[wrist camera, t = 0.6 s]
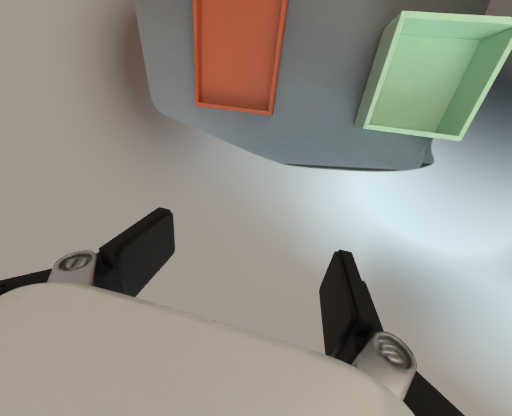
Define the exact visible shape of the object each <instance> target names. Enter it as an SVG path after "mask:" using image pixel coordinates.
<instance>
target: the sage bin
mask: <svg viewBox="0 0 512 416" xmlns="http://www.w3.org/2000/svg"><path fill="white" fill-rule="evenodd" d="M511 49H512V17H502V16H485V15H468V14H451V13H434V12H417V11H401V12H400V13H399V14H398V15H397V16H396V17H395V18H394V19H393V20H392V21H391V22H390V23H389V24H388V25H387V26H386V27H385V28H384V29H383V33H382V36H381V39H380V42H379V45H378V49H377V52H376V55H375V58H374V62H373V65H372V68H371V71H370V74H369V78H368V81H367V84H366V87H365V91H364V94H363V97H362V100H361V104H360V107H359V110H358V113H357V116H356V120H355V123H354V126H356V127H360V128H363V129H371V130H378V131H386V132H394V133H401V134H409V135H416V136H424V137H431V138H439V139H447V140H454V141H461V140H462V138H463V136H464V134H465V132H466V131H467V129H468V127H469V125H470V123H471V122H472V120H473V118H474V116H475V114H476V113H477V111H478V109H479V107H480V105H481V104H482V102H483V100H484V98H485V96H486V95H487V93H488V91H489V89H490V87H491V85H492V84H493V82H494V80H495V78H496V76H497V75H498V73H499V71H500V69H501V67H502V66H503V64H504V62H505V60H506V58H507V57H508V55H509V53H510V51H511Z"/></svg>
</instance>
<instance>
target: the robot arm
mask: <svg viewBox="0 0 512 416" xmlns="http://www.w3.org/2000/svg"><path fill="white" fill-rule="evenodd" d="M174 243H175V242H174V225H173V214H172V213H171V211H170V210H169V209H164V208H157V209H156V210H154V211H153V212H151V213H150V214H148V215H147V216H146V217H144V218H143V219H141V220H140V221H138V222H137V223H136V224H134V225H133V226H131V227H130V228H128V229H127V230H125V231H124V232H122V233H121V234H119V235H118V236H116V237H115V238H113V239H112V240H111V241H109V242H108V243H106V244H105V245H103V246H102V247H100V248H99V251H100V252H98V253H97V254H95V253H94V252H92V251H86V250H84V251H78V252H73V253H71V254H67V255H65V256H64V257H62V258H60V259H59V260H58V261H57V262H56V263H55V264H54V266H53V269H48V270H45V271H40V272H36V273H31V274H27V275H23V276H18V277H14V278H9V279H5V280H0V416H464V415H463V414H462V413H461V412H460V411H459V410H458V409H457V408H456V407H455V406H454V405H453V404H451V403H450V402H449V401H448V400H447V399H446V398H445V397H444V396H443V395H442V394H441V393H440V392H439V391H437V390H436V389H435V388H434V387H433V386H432V385H431V384H430V383H429V382H428V381H427V380H426V379H425V378H423V377H422V376H421V375H420V374H419V373H418V372H417V371H416V368H417V363H416V359H415V357H414V355H413V353H412V352H411V350H410V349H409V348H408V346H407V345H406V344H405V343H404V342H402V340H400V339H399V338H397V337H396V336H394V335H393V334H390V333H388V332H384V331H383V328H382V325H381V323H380V320H379V317H378V315H377V312H376V309H375V307H374V304H373V302H372V299H371V296H370V293H369V291H368V288H367V285H366V283H365V282H364V281H362V280H361V278H360V275H359V272H358V269H357V266H356V264H355V261H354V258H353V255H352V253H351V252H348V251H343V250H339V251H338V252H335V253H334V254H333V257H332V260H331V262H330V264H329V267H328V269H327V271H326V274H325V276H324V279H323V281H322V283H321V286H320V290H319V294H320V304H321V314H322V324H323V334H324V344H325V353H326V354H325V355H324V354H321V353H319V352H316V351H312V350H309V349H306V348H303V347H300V346H297V345H293V344H291V343H287V342H284V341H281V340H278V339H274V338H271V337H267V336H264V335H261V334H257V333H254V332H251V331H248V330H244V329H241V328H238V327H234V326H231V325H228V324H224V323H221V322H217V321H214V320H210V319H207V318H203V317H201V316H197V315H194V314H190V313H187V312H184V311H180V310H177V309H173V308H170V307H166V306H163V305H159V304H156V303H153V302H149V301H146V300H142V299H139V298H135V297H136V295H137V294H138V293H139V292H140V291H141V290H142V289H143V288H144V286H145V285H146V284H147V283H148V282H149V281H150V280H151V278H152V277H153V276H154V275H155V274H156V273H157V272H158V271H159V270H160V268H161V267H162V266H163V265H164V264H165V263H166V262H167V261H168V259H169V258H170V257H171V256H172V255H173V253H174V251H175V244H174Z"/></svg>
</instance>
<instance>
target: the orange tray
mask: <svg viewBox="0 0 512 416" xmlns="http://www.w3.org/2000/svg"><path fill="white" fill-rule="evenodd" d="M287 7H288V0H193V38H194V82H195V106H203V107H211V108H218V109H226V110H233V111H241V112H249V113H256V114H264V115H273V109H274V102H275V95H276V87H277V80H278V73H279V65H280V58H281V51H282V43H283V36H284V29H285V21H286V14H287Z"/></svg>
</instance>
